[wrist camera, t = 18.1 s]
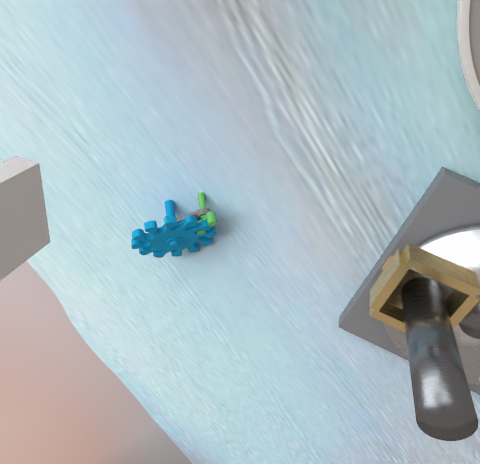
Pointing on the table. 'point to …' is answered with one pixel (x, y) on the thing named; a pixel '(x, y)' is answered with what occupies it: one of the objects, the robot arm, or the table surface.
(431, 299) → the pin
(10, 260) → the robot arm
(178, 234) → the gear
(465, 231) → the silver disc with box
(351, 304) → the nut plate
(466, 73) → the bowl
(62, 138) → the table surface
